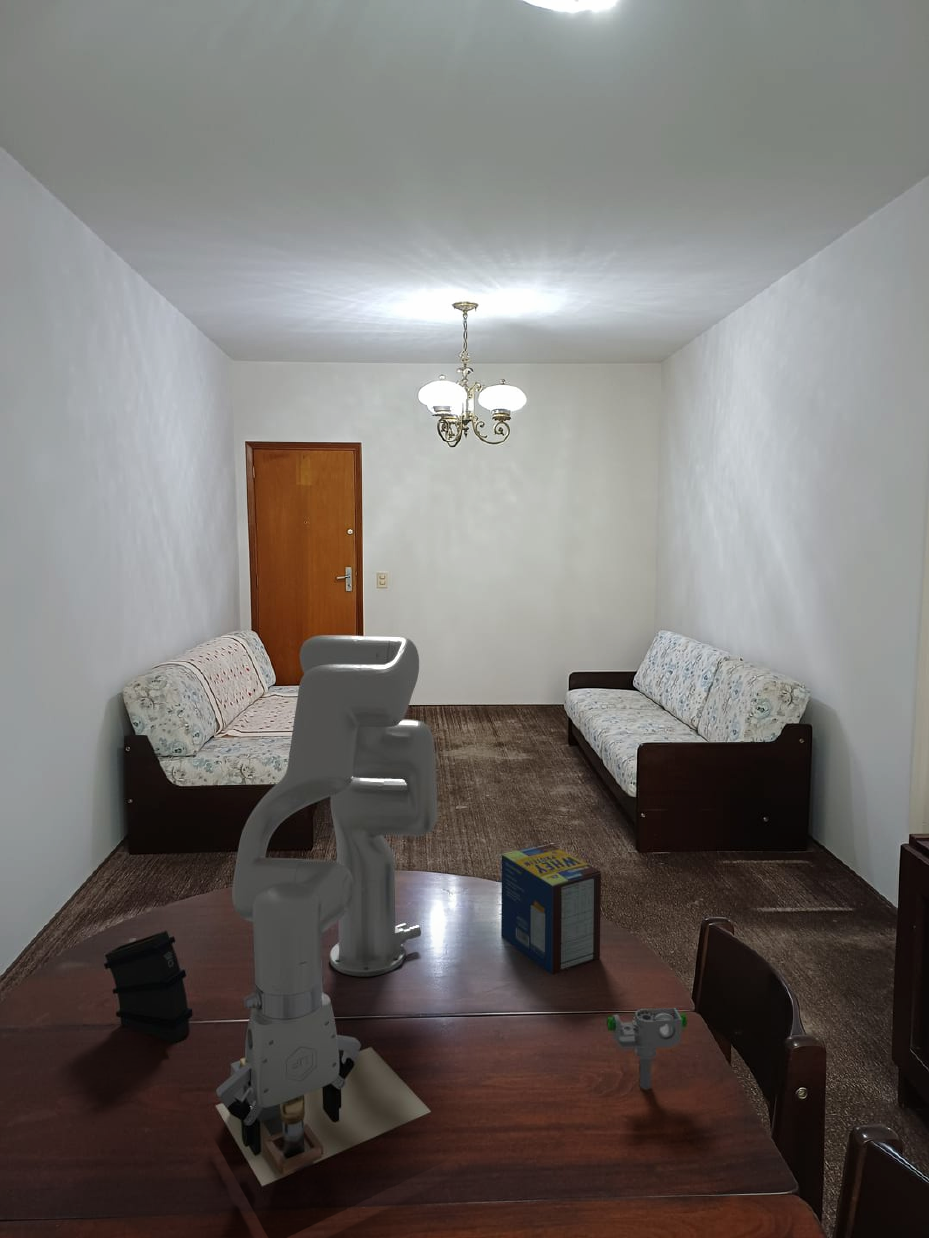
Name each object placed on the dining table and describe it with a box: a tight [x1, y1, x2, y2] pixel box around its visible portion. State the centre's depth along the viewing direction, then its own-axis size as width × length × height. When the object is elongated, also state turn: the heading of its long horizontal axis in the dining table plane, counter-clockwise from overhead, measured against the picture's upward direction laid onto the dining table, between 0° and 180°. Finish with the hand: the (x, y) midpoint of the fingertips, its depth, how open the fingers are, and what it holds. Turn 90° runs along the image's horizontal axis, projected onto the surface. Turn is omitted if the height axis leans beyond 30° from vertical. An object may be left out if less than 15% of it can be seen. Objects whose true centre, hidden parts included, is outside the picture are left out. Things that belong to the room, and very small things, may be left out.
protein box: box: [500, 842, 602, 975], centre depth 154 cm, size 10×15×16 cm
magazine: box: [103, 930, 193, 1044], centre depth 130 cm, size 4×13×15 cm, turn 64°
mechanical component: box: [606, 1007, 688, 1091], centre depth 117 cm, size 3×10×10 cm, turn 95°
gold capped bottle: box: [280, 1095, 305, 1158], centre depth 104 cm, size 3×3×7 cm
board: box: [215, 1046, 432, 1187], centre depth 112 cm, size 22×16×2 cm
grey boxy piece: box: [230, 1057, 280, 1123], centre depth 111 cm, size 7×4×7 cm, turn 123°
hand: (293, 1131), depth 104 cm, fingers open, 9 cm apart
